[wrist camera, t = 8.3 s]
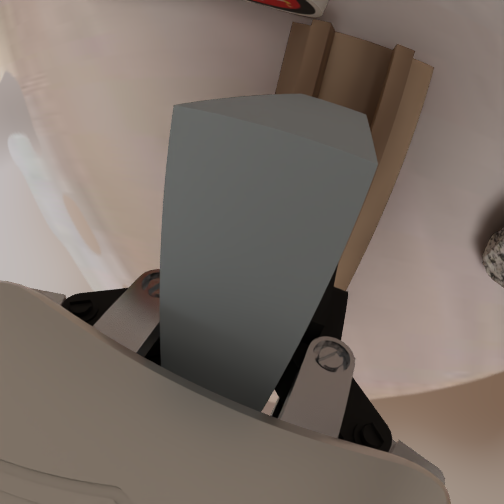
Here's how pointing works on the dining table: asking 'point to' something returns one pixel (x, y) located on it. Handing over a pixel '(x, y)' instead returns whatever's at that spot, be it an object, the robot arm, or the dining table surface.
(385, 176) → the rail
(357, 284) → the dining table surface
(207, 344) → the panel
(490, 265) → the rock
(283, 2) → the sign
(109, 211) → the dining table surface
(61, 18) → the dining table surface
